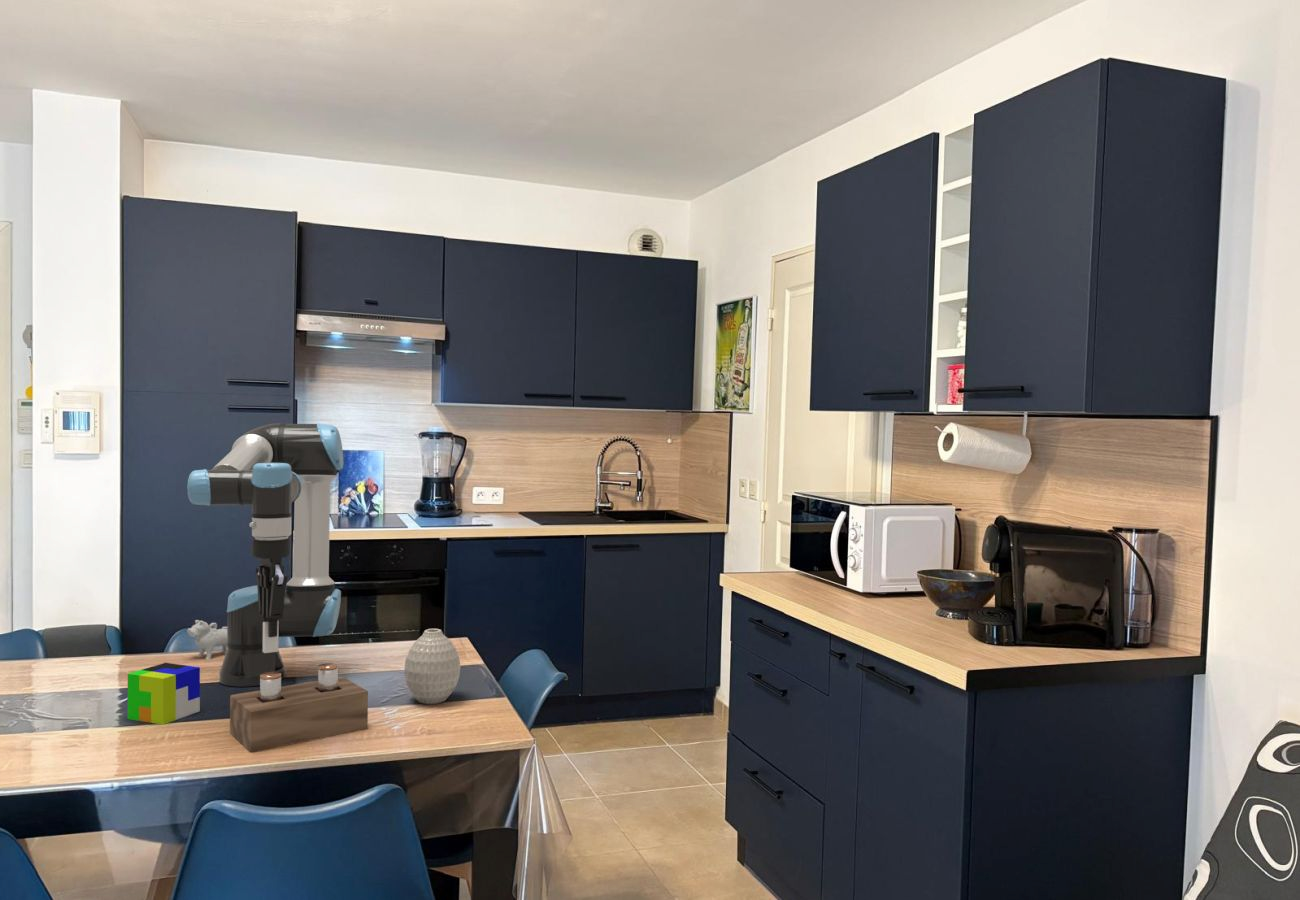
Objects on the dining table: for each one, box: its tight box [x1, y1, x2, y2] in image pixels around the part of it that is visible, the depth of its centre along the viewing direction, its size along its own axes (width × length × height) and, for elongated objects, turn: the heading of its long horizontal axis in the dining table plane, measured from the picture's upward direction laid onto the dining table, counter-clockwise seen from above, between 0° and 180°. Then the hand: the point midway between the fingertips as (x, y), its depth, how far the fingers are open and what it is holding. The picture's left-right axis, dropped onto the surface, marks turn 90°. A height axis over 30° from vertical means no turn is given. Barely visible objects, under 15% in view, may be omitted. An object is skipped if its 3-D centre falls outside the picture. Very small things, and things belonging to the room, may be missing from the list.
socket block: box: [229, 676, 369, 753], centre depth 196 cm, size 14×24×8 cm, turn 130°
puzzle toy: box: [127, 662, 201, 726], centre depth 204 cm, size 10×10×10 cm
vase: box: [403, 628, 461, 705], centre depth 218 cm, size 13×13×17 cm
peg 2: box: [317, 662, 339, 693], centre depth 199 cm, size 4×4×8 cm
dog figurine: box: [186, 619, 227, 661], centre depth 254 cm, size 5×13×11 cm, turn 145°
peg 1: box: [259, 672, 282, 703], centre depth 192 cm, size 4×4×8 cm
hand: (270, 651), depth 191 cm, fingers closed
